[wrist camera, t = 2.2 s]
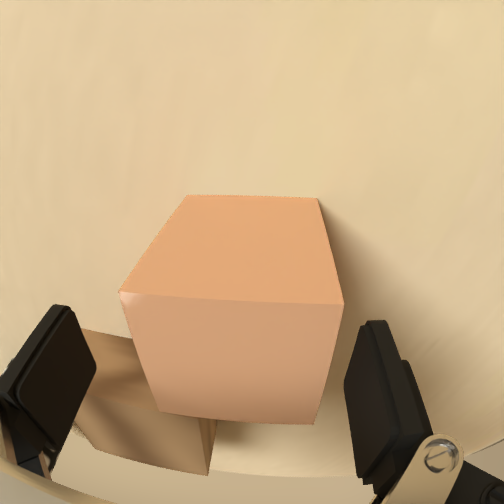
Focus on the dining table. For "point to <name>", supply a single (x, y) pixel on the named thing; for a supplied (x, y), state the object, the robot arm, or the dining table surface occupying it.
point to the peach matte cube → (237, 309)
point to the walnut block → (138, 413)
